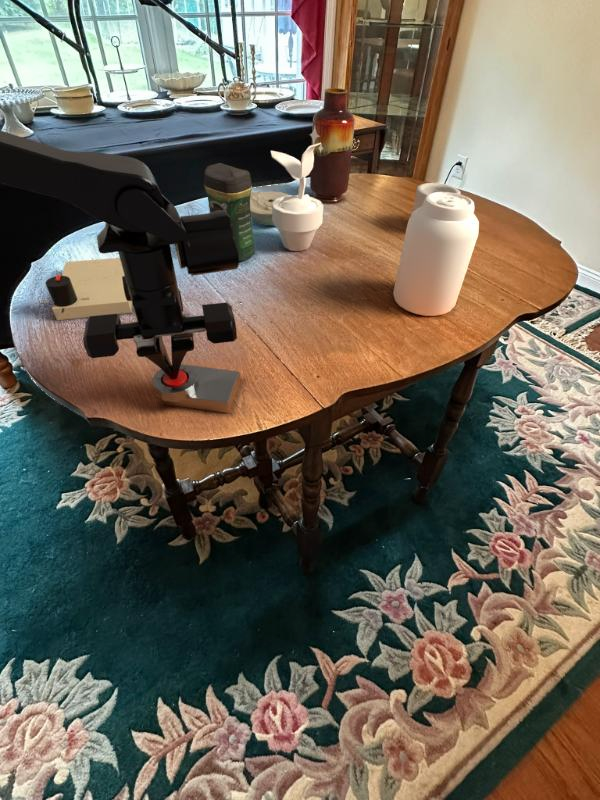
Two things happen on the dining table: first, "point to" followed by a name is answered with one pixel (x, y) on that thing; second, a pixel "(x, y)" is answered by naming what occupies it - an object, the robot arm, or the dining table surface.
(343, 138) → the vase
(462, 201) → the white lidded jar
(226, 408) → the block
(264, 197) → the oil lamp
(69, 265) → the beige knob base panel
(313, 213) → the potted plant
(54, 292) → the knob
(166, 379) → the button
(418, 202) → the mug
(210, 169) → the coffee jar
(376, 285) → the dining table surface
